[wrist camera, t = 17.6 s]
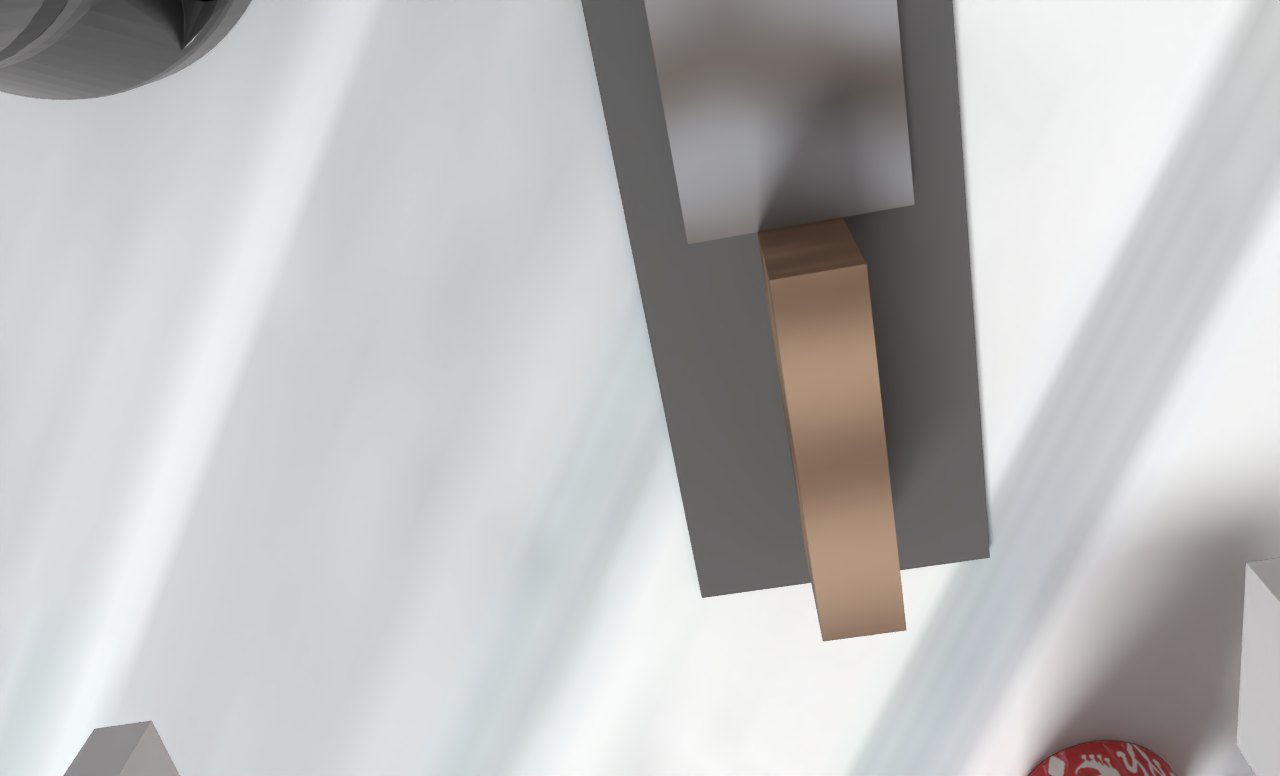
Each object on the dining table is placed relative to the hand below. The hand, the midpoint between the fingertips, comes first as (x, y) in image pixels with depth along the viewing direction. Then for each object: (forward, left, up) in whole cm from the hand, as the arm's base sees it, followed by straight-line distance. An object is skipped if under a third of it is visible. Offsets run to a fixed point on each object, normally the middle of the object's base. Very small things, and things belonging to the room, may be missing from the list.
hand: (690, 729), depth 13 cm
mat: (+4, -4, -28) cm, 29 cm away
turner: (+4, -4, -28) cm, 28 cm away
